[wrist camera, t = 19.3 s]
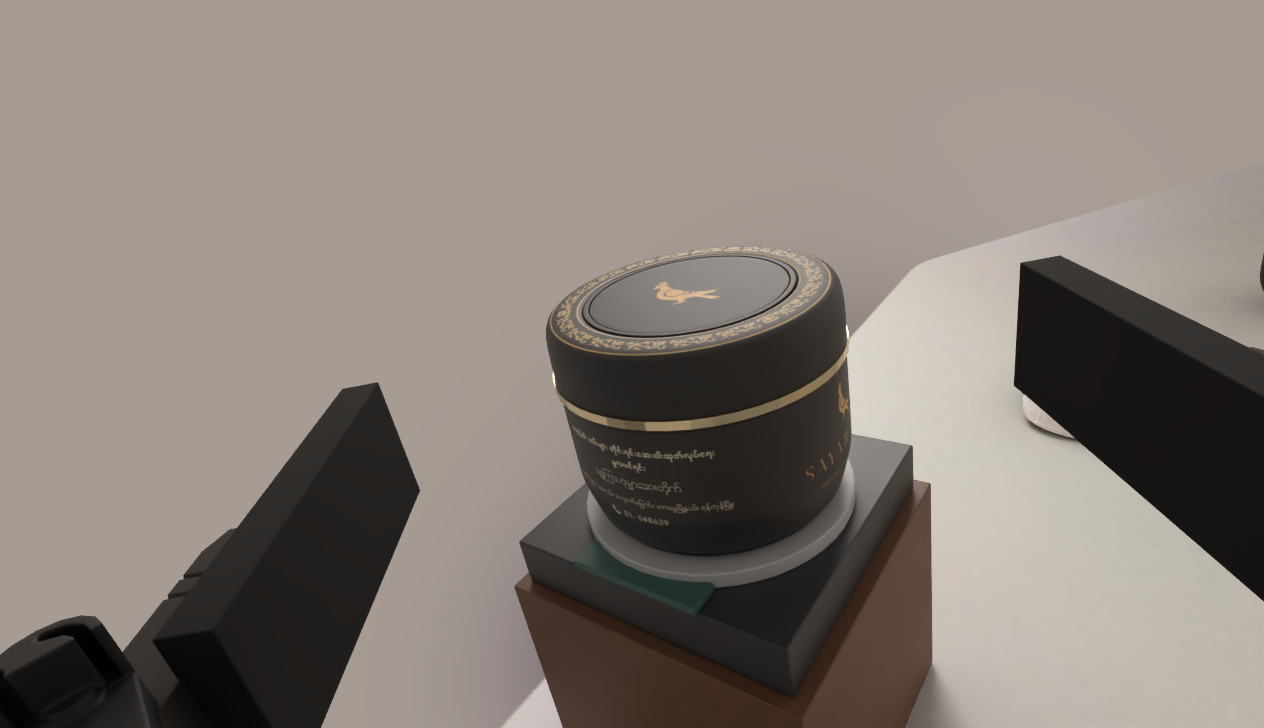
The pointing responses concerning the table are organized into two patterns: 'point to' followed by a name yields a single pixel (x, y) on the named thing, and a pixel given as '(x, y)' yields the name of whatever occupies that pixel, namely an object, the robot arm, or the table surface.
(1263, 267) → the mug
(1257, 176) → the table surface
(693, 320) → the jar
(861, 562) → the scale
